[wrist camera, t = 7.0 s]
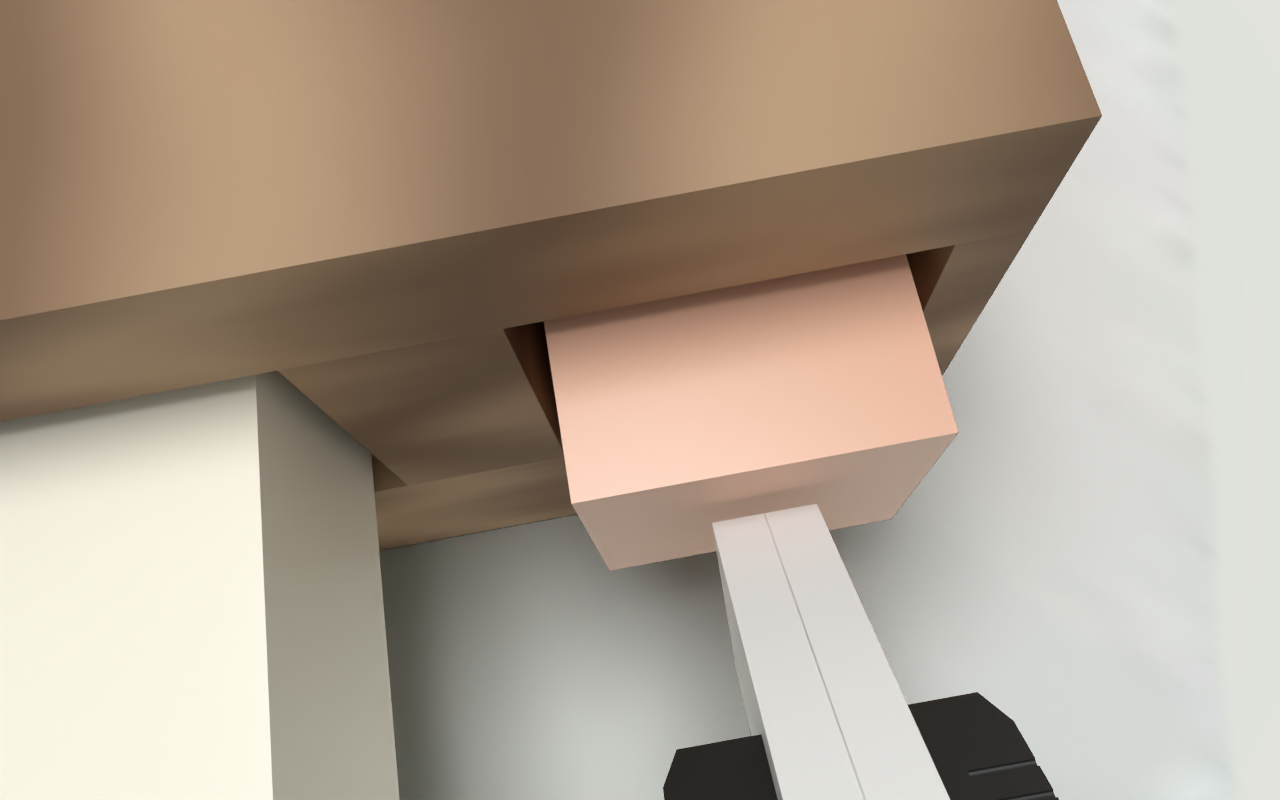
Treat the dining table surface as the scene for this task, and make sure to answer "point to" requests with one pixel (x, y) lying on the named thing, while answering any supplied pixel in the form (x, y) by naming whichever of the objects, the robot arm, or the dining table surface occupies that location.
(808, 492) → the key terracotta
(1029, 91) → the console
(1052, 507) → the dining table surface
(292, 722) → the key cream
